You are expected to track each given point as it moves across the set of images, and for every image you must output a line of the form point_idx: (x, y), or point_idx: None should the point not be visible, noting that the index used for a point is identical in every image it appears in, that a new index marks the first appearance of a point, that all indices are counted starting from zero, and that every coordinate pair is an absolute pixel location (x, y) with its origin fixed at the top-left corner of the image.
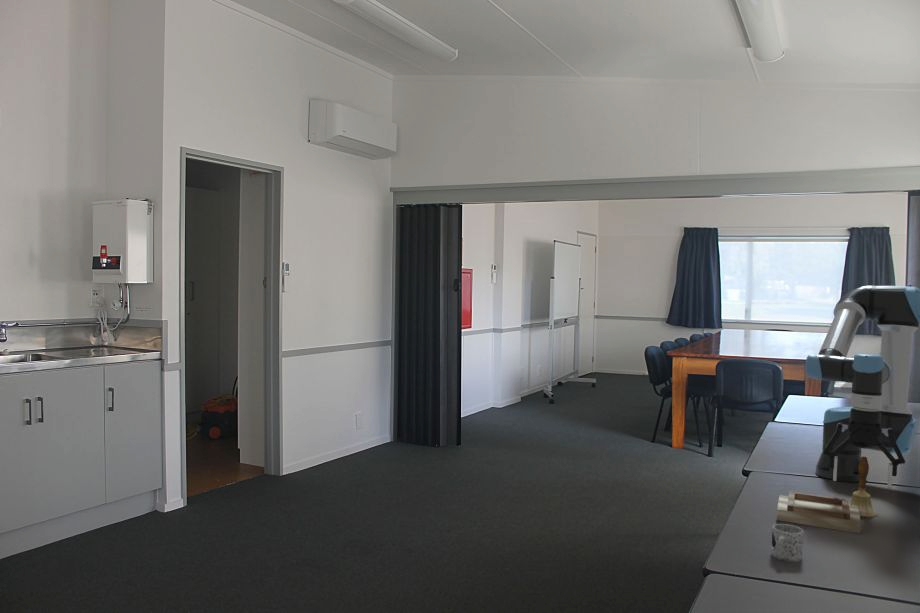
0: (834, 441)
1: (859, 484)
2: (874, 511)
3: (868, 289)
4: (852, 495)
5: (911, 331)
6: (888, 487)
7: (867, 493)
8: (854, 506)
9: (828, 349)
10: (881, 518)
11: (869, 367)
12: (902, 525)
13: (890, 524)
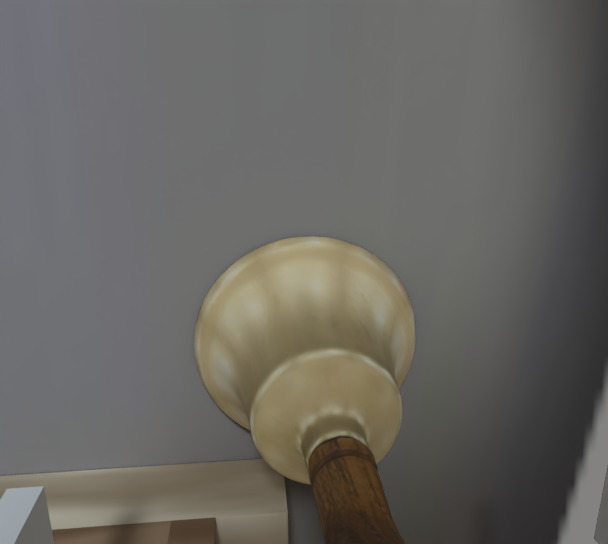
0: None
1: (316, 501)
2: (401, 370)
3: None
4: (248, 420)
5: None
6: (599, 540)
7: (381, 433)
8: (263, 537)
9: None
10: (430, 406)
11: None
12: (529, 477)
13: (463, 496)
